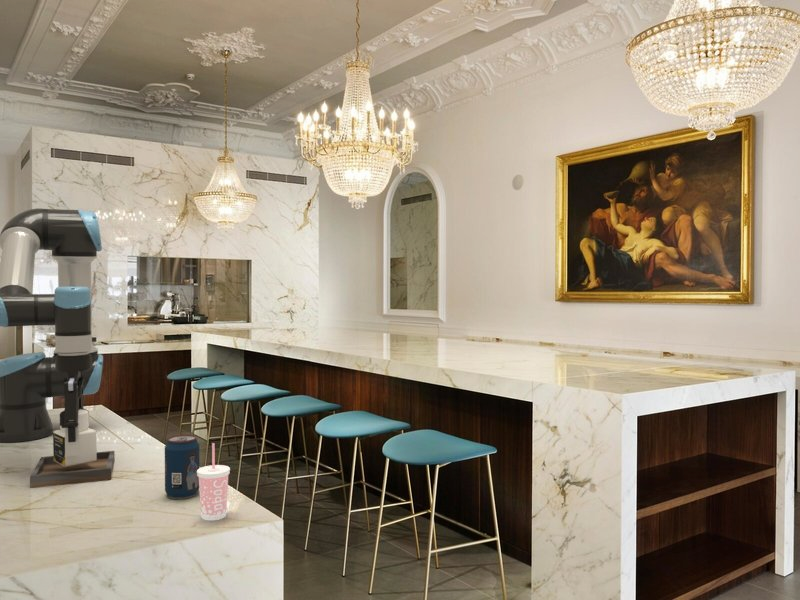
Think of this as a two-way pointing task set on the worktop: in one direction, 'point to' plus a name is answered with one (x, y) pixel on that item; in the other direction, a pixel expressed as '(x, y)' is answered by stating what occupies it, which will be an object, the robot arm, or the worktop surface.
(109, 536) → the worktop surface
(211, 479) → the beverage cup
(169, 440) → the soda can
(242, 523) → the worktop surface
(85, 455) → the medicine bottle
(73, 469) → the wooden tray
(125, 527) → the worktop surface
